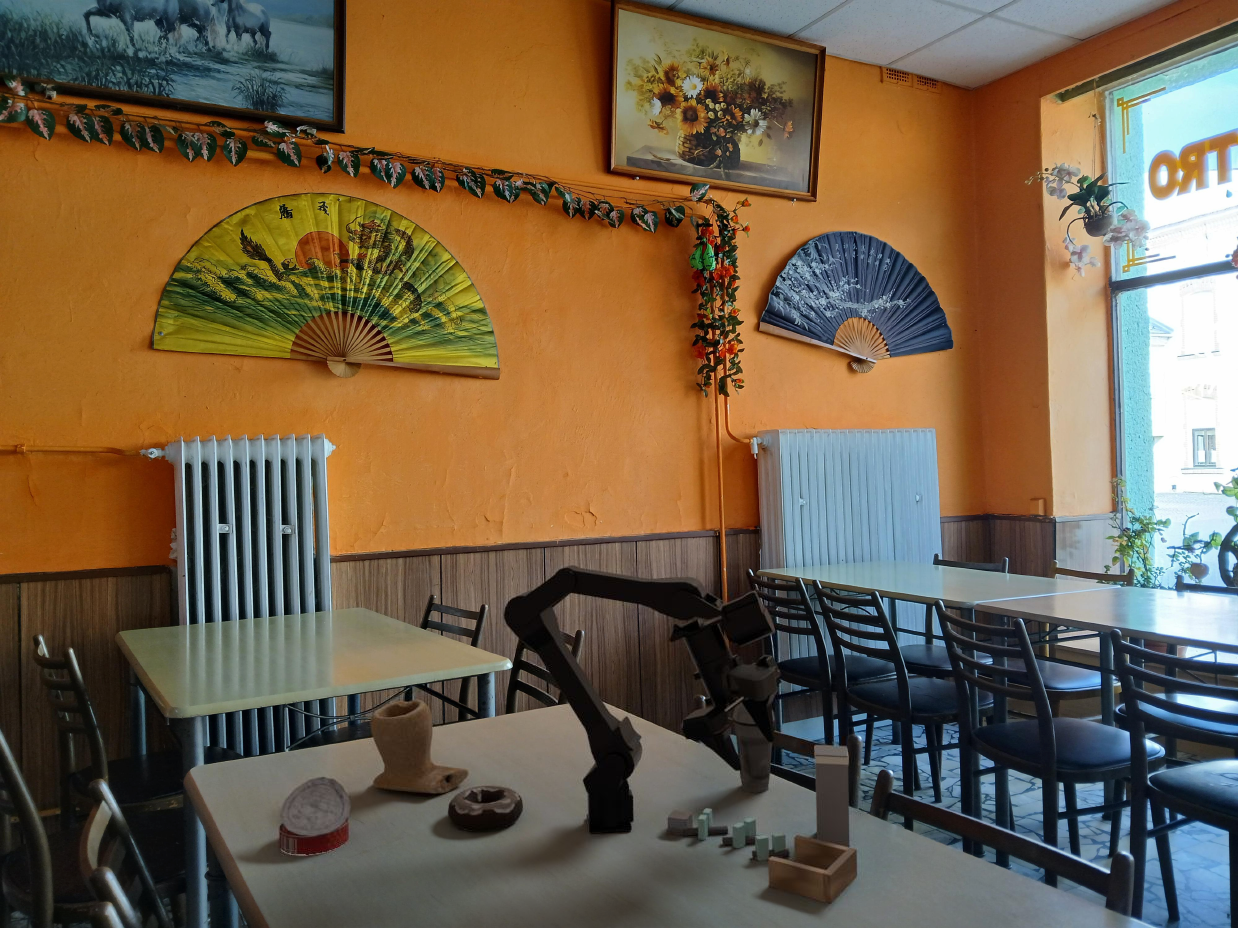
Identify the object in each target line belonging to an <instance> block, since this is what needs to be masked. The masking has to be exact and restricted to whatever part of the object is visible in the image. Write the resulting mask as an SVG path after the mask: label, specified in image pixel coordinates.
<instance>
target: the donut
mask: <svg viewBox="0 0 1238 928" xmlns="http://www.w3.org/2000/svg"><path fill="white" fill-rule="evenodd" d="M523 809H524V804H523V798H522V796H521V795H520V794H519V793H518V792H517V791H516V790H514V789H512V788H510V787H507V786H503V785H495V784H494V785H493V784H492V785H491V784H490V785H480V786H479V785H478V786H474V787H473V786H472V787H470V788H467V789H464V790H462V791H460V792H459V793H457V794H455V796H453V798H452V799H451V800H450V801H449V803H448V808H447V815H448V818H449V820H450V822H451V823H452V824H453V825H454V826H455V827H457V828H459V829H462V830H464V829H465V831H468V830H469V831H468V832H476V831H479V832H490V830H492V831H496V829H497V830H500V828H501V829H504V828H506V827H509V826H510V825H513V824H514V823H515V822H516V821H517V820H518V819H519V818H520V817H521V815H522V813H523V811H524V810H523Z"/></svg>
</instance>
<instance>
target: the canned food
mask: <svg viewBox="0 0 1238 928" xmlns="http://www.w3.org/2000/svg"><path fill="white" fill-rule="evenodd" d="M284 799H285V800H284V802H283V805H282V807H281V809H280V819H281V823H280V824H279V827H278V832H279V834H278V836H279V838H278V839H279V840H278V842H279V845H280V848H281V849H282V850H283V851H285V852H287V853H291V854H306V855H309V854H316V853H322V852H327V851H329V850H333V849H335V848H338V847H340V846H341V845H343V844H344V845H345V844H346V843H345V842H347V843H348V841H349V840H348V838H350V835H349V832H350V831H349V829H350V828H349V827H350V824H349V814H350V811H351V809H352V808H351V802H350V797H349V795H348V793H347V792H346V790H345V788H344V786H343V785H342V784H341V783H340V782H338V781H337V780H336V779H334V778H328V777H325V776H319V777H315V778H311V779H308V780H306V781H305V782H303V783H302V784H301V785H299V786H297V787H296V788H294V789H293V791H292V792H291V793H290V794H289V795H288V796H287V797H286V798H284ZM347 840H348V841H347ZM344 845H343V846H344ZM341 847H342V846H341ZM341 847H340V848H341ZM280 848H279V849H280ZM338 849H339V848H338ZM333 851H334V850H333Z"/></svg>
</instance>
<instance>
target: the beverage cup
mask: <svg viewBox="0 0 1238 928" xmlns="http://www.w3.org/2000/svg"><path fill="white" fill-rule="evenodd" d="M772 715H773V724H774V725H775V722H776V719H775V712H774V711H773V709H772ZM732 722H733V723H732V724H733V728H734V729H733V730H734V733H735V739H736V748H737V749H736V750H737V755H738V757H739V760H740V763H741V767H742V769H741V770H740V771H739V776H740V782H741V789H742V790H743V791H746V792H747V793H748V792H749V793H763V792H766V791H768V790H769V784H770V779H771V777H770V776H771V761H772V748H773V742H768V741H767V739H766V738H765V737H764V736H763V734H762V733H761V731H760V730H759V728H758V727H757V725H756V724H755V722H754V720H753V719H752V717H751V716H750V714H749V713H748V711H747V710H746V708H745V707H744V705H743V704H742V702H741V703H740V704H739V705H737V706H736V707H735V708H733V716H732Z"/></svg>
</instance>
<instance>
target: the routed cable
mask: <svg viewBox="0 0 1238 928" xmlns="http://www.w3.org/2000/svg"><path fill="white" fill-rule="evenodd" d="M728 833H729V826H728V825H718V826H717V825H716V826H713V825H712V827H708V835H713V834H714V835H715V834H717V835H718V834H728ZM684 835H687V836H698V826H697V827H693V828H687V830H686V829H683V835H682V836H684ZM760 835H761V834H756V835H752V836H745V844H755V836H760ZM721 840H722V841H721V842H722V845H723V846H725V845H727V846H728V845H733V836H726V837H725V836H722V838H721ZM751 856H752V857H751V858H752V859H756V858H757V852H756V851H755V850H751ZM772 856H773V857H779V858H784V857H790V849H789V848H786V849H785V850H781V851H778V852H775V850H774V849H772V848H771V849H769V858H770V857H772Z"/></svg>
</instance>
